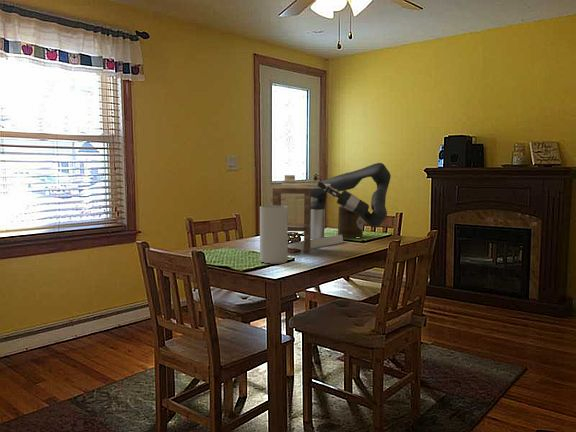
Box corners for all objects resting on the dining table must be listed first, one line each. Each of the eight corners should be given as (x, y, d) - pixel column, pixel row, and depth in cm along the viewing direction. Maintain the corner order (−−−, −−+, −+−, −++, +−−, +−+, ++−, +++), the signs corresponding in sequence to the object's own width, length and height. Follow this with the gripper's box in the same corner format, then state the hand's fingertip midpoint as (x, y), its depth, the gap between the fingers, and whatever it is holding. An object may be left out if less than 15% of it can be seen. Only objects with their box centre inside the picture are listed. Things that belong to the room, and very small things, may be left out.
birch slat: (282, 187, 258) (282, 183, 257) (330, 187, 256) (330, 183, 255) (281, 188, 253) (281, 184, 253) (330, 188, 251) (330, 184, 251)
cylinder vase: (269, 257, 242) (269, 204, 239) (292, 260, 235) (292, 206, 233) (254, 262, 231) (254, 207, 228) (278, 265, 225) (278, 208, 222)
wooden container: (364, 238, 301) (365, 201, 298) (338, 238, 301) (339, 201, 299) (361, 235, 316) (361, 199, 313) (336, 235, 316) (337, 199, 313)
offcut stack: (283, 186, 265) (283, 175, 264) (295, 186, 264) (295, 175, 264) (282, 187, 260) (282, 175, 260) (294, 187, 260) (294, 175, 259)
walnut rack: (276, 247, 270) (276, 186, 267) (310, 248, 269) (310, 186, 265) (272, 253, 254) (272, 188, 251) (309, 253, 253) (309, 188, 249)
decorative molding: (288, 253, 270) (302, 250, 263) (287, 244, 270) (300, 241, 263) (330, 245, 294) (343, 242, 287) (328, 237, 295) (341, 234, 288)
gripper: (351, 193, 260) (322, 176, 260) (352, 195, 246) (321, 177, 246) (344, 206, 261) (314, 189, 261) (344, 208, 247) (313, 190, 247)
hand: (318, 183), depth 254 cm, fingers closed on birch slat, 4 cm apart
